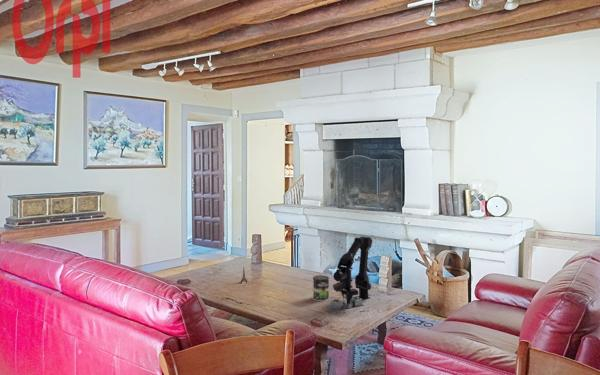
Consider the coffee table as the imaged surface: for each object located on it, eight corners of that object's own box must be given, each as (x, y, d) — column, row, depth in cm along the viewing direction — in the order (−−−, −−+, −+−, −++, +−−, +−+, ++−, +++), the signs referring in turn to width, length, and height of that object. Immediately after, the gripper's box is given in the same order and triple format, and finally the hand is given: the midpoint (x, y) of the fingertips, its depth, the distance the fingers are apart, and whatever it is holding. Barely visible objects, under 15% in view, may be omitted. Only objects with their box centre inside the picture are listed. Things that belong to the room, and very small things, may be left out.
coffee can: (331, 300, 290) (331, 278, 289) (315, 302, 287) (315, 280, 286) (326, 295, 300) (325, 274, 299) (311, 297, 297) (310, 276, 296)
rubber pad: (325, 311, 270) (325, 310, 270) (334, 310, 272) (334, 309, 272) (329, 314, 265) (329, 313, 265) (338, 313, 267) (338, 312, 267)
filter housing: (327, 306, 278) (327, 300, 278) (358, 302, 286) (358, 295, 286) (333, 311, 270) (333, 304, 270) (365, 306, 278) (365, 299, 278)
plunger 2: (353, 303, 281) (353, 296, 281) (357, 303, 283) (357, 296, 282) (355, 305, 279) (355, 298, 278) (360, 304, 280) (360, 297, 279)
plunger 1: (332, 306, 276) (332, 299, 276) (337, 306, 277) (337, 299, 277) (334, 308, 273) (334, 301, 273) (339, 307, 275) (339, 300, 274)
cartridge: (342, 305, 279) (342, 294, 279) (347, 304, 280) (347, 293, 280) (345, 307, 276) (345, 296, 275) (350, 306, 277) (350, 295, 277)
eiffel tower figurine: (242, 287, 324) (242, 268, 323) (232, 285, 330) (231, 266, 329) (256, 282, 336) (256, 264, 335) (245, 280, 342) (245, 262, 341)
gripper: (327, 275, 282) (327, 300, 283) (342, 283, 265) (342, 309, 266) (343, 273, 287) (343, 297, 288) (358, 280, 270) (358, 306, 271)
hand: (346, 302), depth 278 cm, fingers closed on cartridge, 4 cm apart
